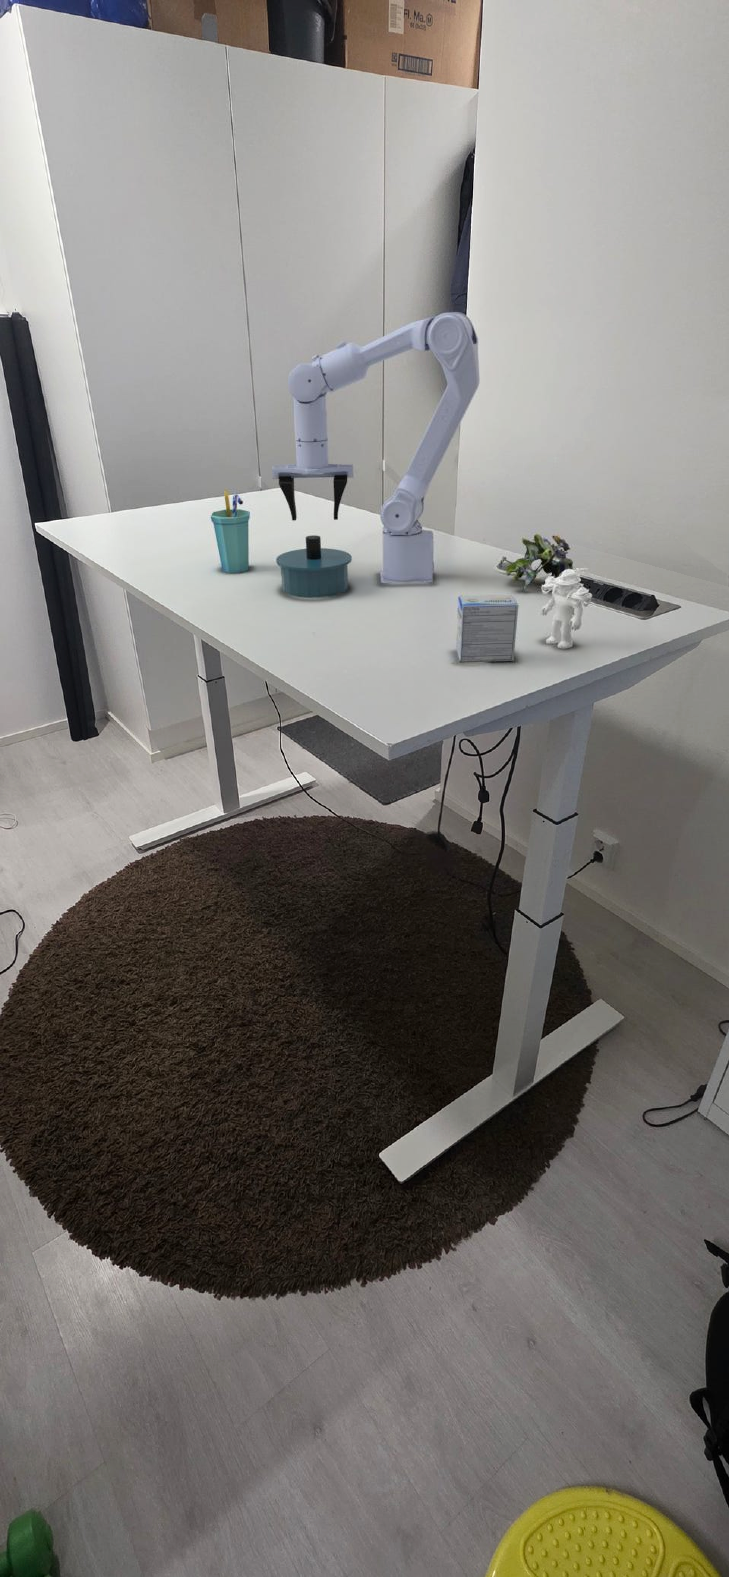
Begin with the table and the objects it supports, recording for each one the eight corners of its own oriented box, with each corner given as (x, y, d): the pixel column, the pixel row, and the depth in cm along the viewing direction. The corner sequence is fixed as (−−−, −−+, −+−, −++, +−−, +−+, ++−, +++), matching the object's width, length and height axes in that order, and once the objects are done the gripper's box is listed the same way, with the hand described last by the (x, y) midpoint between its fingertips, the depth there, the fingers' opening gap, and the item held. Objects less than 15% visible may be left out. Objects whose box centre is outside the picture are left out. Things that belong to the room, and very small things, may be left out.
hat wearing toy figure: (590, 650, 119) (601, 569, 113) (570, 655, 118) (580, 573, 112) (549, 632, 126) (557, 554, 120) (529, 637, 125) (537, 558, 118)
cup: (267, 576, 155) (261, 494, 147) (228, 582, 152) (219, 499, 144) (245, 559, 166) (238, 482, 158) (208, 564, 163) (199, 486, 155)
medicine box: (508, 651, 120) (513, 593, 115) (514, 662, 116) (519, 603, 111) (455, 652, 120) (457, 594, 115) (459, 664, 116) (462, 604, 111)
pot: (348, 580, 152) (347, 551, 149) (347, 600, 142) (346, 569, 139) (285, 581, 152) (283, 552, 149) (280, 601, 142) (278, 570, 139)
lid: (352, 553, 150) (351, 527, 148) (351, 573, 139) (351, 546, 136) (279, 554, 150) (278, 528, 148) (273, 575, 139) (271, 547, 136)
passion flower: (552, 613, 150) (595, 567, 141) (512, 615, 144) (555, 567, 135) (522, 568, 154) (562, 520, 145) (482, 567, 147) (522, 517, 139)
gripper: (268, 443, 140) (274, 524, 147) (352, 442, 140) (354, 523, 147) (272, 438, 146) (277, 516, 153) (352, 436, 146) (354, 514, 153)
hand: (315, 519), depth 150 cm, fingers open, 7 cm apart
